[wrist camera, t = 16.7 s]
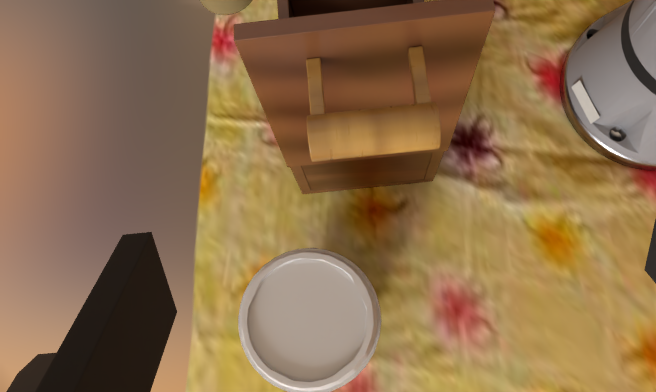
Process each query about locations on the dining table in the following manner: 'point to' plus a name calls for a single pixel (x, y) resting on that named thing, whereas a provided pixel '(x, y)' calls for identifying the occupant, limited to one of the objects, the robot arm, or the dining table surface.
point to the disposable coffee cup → (309, 321)
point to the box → (365, 171)
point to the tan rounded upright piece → (225, 6)
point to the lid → (365, 78)
